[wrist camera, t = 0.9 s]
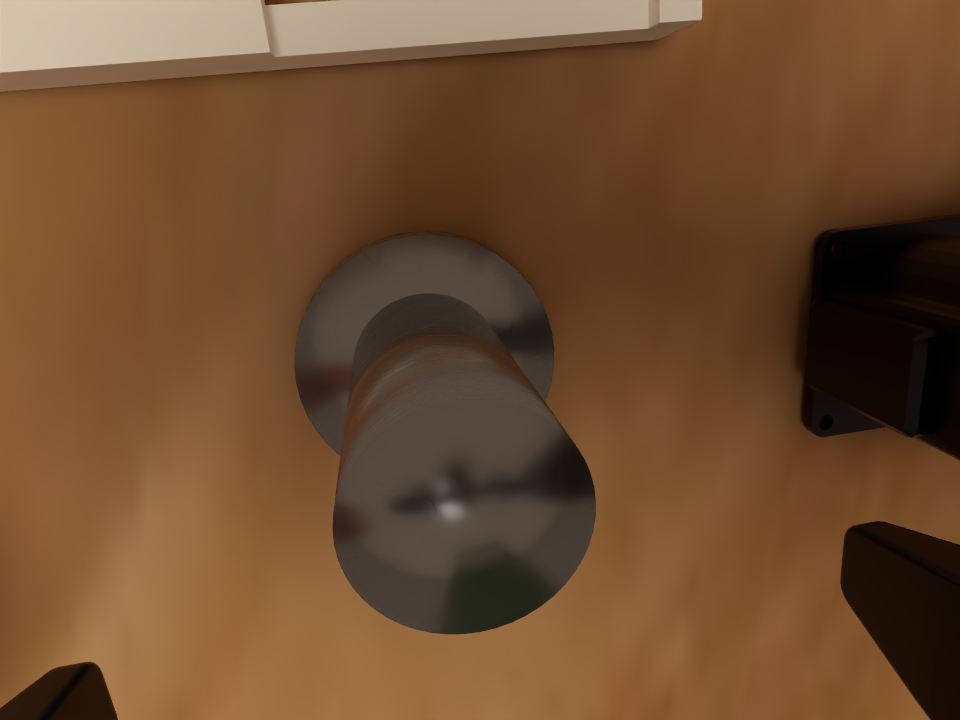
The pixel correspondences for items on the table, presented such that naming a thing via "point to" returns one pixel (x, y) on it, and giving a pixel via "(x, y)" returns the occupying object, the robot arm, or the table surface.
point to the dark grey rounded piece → (443, 434)
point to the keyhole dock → (297, 34)
